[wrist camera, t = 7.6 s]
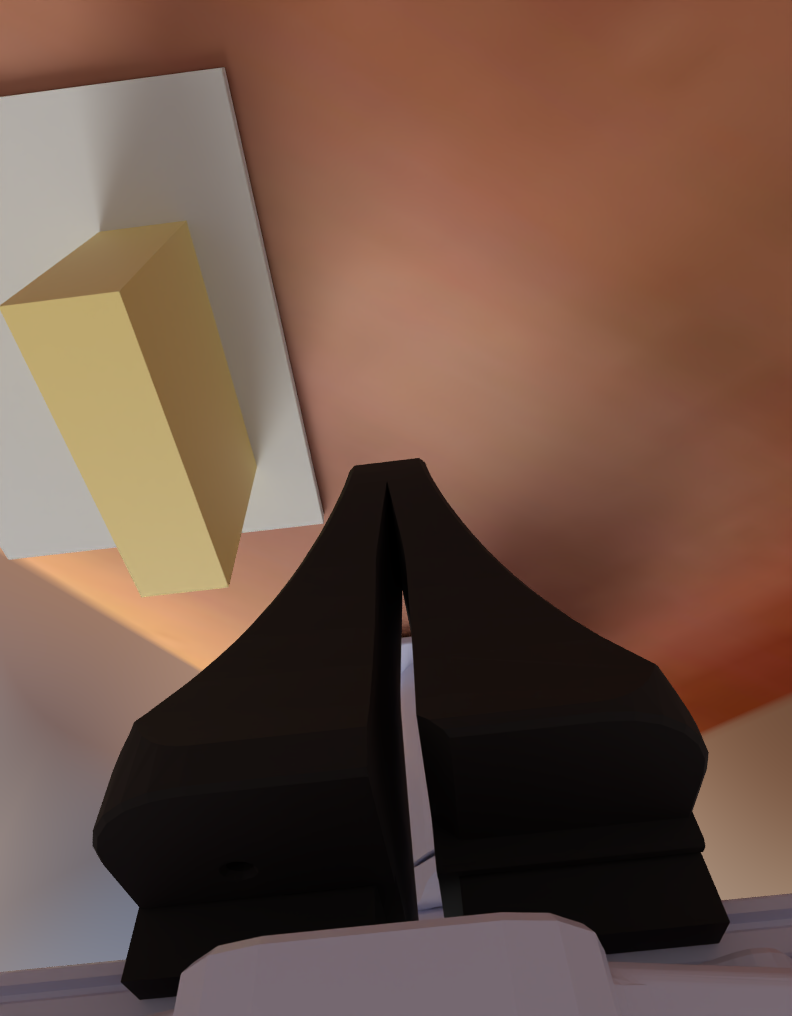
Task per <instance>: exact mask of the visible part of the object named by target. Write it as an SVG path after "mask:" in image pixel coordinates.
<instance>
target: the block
mask: <svg viewBox="0 0 792 1016" xmlns="http://www.w3.org/2000/svg"><path fill="white" fill-rule="evenodd" d="M0 311H1V313H2V315H3V317H4V319H5V321H6V323H7V325H8V327H9V329H10V331H11V333H12V335H13V337H14V339H15V341H16V343H17V345H18V347H19V349H20V351H21V354H22V356H23V358H24V360H25V362H26V364H27V366H28V368H29V370H30V372H31V374H32V376H33V378H34V380H35V382H36V384H37V386H38V388H39V390H40V392H41V394H42V396H43V398H44V400H45V402H46V404H47V406H48V408H49V410H50V412H51V415H52V417H53V419H54V421H55V423H56V425H57V427H58V429H59V431H60V433H61V435H62V437H63V439H64V441H65V443H66V445H67V447H68V449H69V451H70V453H71V455H72V457H73V459H74V461H75V463H76V465H77V467H78V469H79V471H80V473H81V475H82V478H83V480H84V482H85V484H86V486H87V488H88V490H89V492H90V494H91V496H92V498H93V500H94V502H95V504H96V506H97V508H98V510H99V512H100V514H101V516H102V518H103V520H104V522H105V524H106V526H107V528H108V530H109V532H110V534H111V536H112V539H113V541H114V543H115V545H116V547H117V549H118V551H119V553H120V555H121V557H122V559H123V561H124V563H125V565H126V567H127V569H128V571H129V573H130V575H131V577H132V579H133V581H134V583H135V585H136V587H137V589H138V591H139V593H140V595H141V597H148V596H157V595H166V594H174V593H183V592H192V591H201V590H210V589H218V588H227V587H229V584H230V579H231V575H232V571H233V567H234V562H235V558H236V554H237V550H238V545H239V541H240V537H241V533H242V528H243V524H244V520H245V516H246V512H247V507H248V503H249V499H250V495H251V490H252V486H253V482H254V478H255V473H256V469H257V465H256V461H255V458H254V454H253V451H252V447H251V444H250V441H249V437H248V434H247V430H246V427H245V423H244V420H243V416H242V413H241V409H240V406H239V402H238V399H237V395H236V392H235V388H234V385H233V381H232V378H231V374H230V371H229V367H228V364H227V360H226V357H225V353H224V350H223V346H222V343H221V339H220V336H219V332H218V329H217V325H216V322H215V319H214V315H213V312H212V308H211V305H210V301H209V298H208V294H207V291H206V287H205V284H204V280H203V277H202V273H201V270H200V266H199V263H198V259H197V256H196V252H195V249H194V245H193V242H192V238H191V235H190V231H189V228H188V224H187V221H179V222H171V223H163V224H155V225H148V226H140V227H132V228H124V229H117V230H109V231H101V232H98V233H97V234H96V235H94V236H93V237H92V238H90V239H89V240H88V241H86V242H85V243H84V244H82V245H81V246H79V247H78V248H77V249H75V250H74V251H73V252H71V253H70V254H69V255H67V256H66V257H65V258H63V259H62V260H61V261H59V262H58V263H56V264H55V265H54V266H52V267H51V268H50V269H48V270H47V271H46V272H44V273H43V274H42V275H40V276H39V277H38V278H36V279H35V280H34V281H32V282H31V283H29V284H28V285H27V286H25V287H24V288H23V289H21V290H20V291H19V292H17V293H16V294H15V295H13V296H12V297H11V298H9V299H8V300H7V301H5V302H4V303H2V304H1V305H0Z"/></svg>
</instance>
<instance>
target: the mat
mask: <svg viewBox="0 0 792 1016" xmlns="http://www.w3.org/2000/svg"><path fill="white" fill-rule="evenodd" d="M179 221H187V224H188V228H189V231H190V235H191V238H192V242H193V245H194V249H195V252H196V256H197V259H198V263H199V266H200V270H201V273H202V277H203V280H204V284H205V287H206V291H207V294H208V298H209V301H210V305H211V308H212V312H213V315H214V319H215V322H216V325H217V329H218V332H219V336H220V339H221V343H222V346H223V350H224V353H225V357H226V360H227V364H228V367H229V371H230V374H231V378H232V381H233V385H234V388H235V392H236V395H237V399H238V402H239V406H240V409H241V413H242V416H243V420H244V423H245V427H246V430H247V434H248V437H249V441H250V444H251V447H252V451H253V454H254V458H255V461H256V465H257V469H256V473H255V478H254V482H253V486H252V490H251V495H250V499H249V503H248V507H247V512H246V516H245V520H244V524H243V528H242V533H245V532H254V531H262V530H271V529H280V528H289V527H297V526H306V525H315V524H323V522H324V513H323V509H322V504H321V500H320V495H319V491H318V486H317V482H316V477H315V473H314V468H313V464H312V459H311V455H310V450H309V446H308V441H307V437H306V432H305V427H304V423H303V418H302V414H301V409H300V405H299V400H298V396H297V391H296V387H295V382H294V378H293V373H292V369H291V364H290V360H289V355H288V351H287V346H286V342H285V337H284V333H283V328H282V324H281V319H280V315H279V310H278V306H277V301H276V297H275V292H274V288H273V283H272V278H271V274H270V269H269V265H268V260H267V256H266V251H265V247H264V242H263V238H262V233H261V229H260V224H259V220H258V215H257V211H256V206H255V202H254V197H253V193H252V188H251V184H250V179H249V175H248V170H247V166H246V161H245V157H244V152H243V148H242V143H241V139H240V134H239V130H238V125H237V120H236V116H235V111H234V107H233V102H232V98H231V93H230V89H229V84H228V80H227V75H226V71H225V67H222V68H214V69H207V70H199V71H192V72H184V73H177V74H169V75H162V76H154V77H147V78H139V79H132V80H124V81H117V82H109V83H101V84H94V85H86V86H79V87H71V88H64V89H56V90H49V91H41V92H34V93H26V94H19V95H11V96H4V97H0V305H1V304H2V303H4V302H5V301H7V300H8V299H9V298H11V297H12V296H13V295H15V294H16V293H17V292H19V291H20V290H21V289H23V288H24V287H25V286H27V285H28V284H29V283H31V282H32V281H34V280H35V279H36V278H38V277H39V276H40V275H42V274H43V273H44V272H46V271H47V270H48V269H50V268H51V267H52V266H54V265H55V264H56V263H58V262H59V261H61V260H62V259H63V258H65V257H66V256H67V255H69V254H70V253H71V252H73V251H74V250H75V249H77V248H78V247H79V246H81V245H82V244H84V243H85V242H86V241H88V240H89V239H90V238H92V237H93V236H94V235H96V234H97V233H98V232H101V231H109V230H117V229H124V228H132V227H140V226H148V225H155V224H163V223H171V222H179ZM0 547H1V549H2V550H3V552H4V553H5V555H6V557H7V558H8V559H9V560H10V559H19V558H27V557H36V556H45V555H53V554H62V553H71V552H80V551H88V550H97V549H106V548H114V547H116V545H115V543H114V541H113V539H112V536H111V534H110V532H109V530H108V528H107V526H106V524H105V522H104V520H103V518H102V516H101V514H100V512H99V510H98V508H97V506H96V504H95V502H94V500H93V498H92V496H91V494H90V492H89V490H88V488H87V486H86V484H85V482H84V480H83V478H82V475H81V473H80V471H79V469H78V467H77V465H76V463H75V461H74V459H73V457H72V455H71V453H70V451H69V449H68V447H67V445H66V443H65V441H64V439H63V437H62V435H61V433H60V431H59V429H58V427H57V425H56V423H55V421H54V419H53V417H52V415H51V412H50V410H49V408H48V406H47V404H46V402H45V400H44V398H43V396H42V394H41V392H40V390H39V388H38V386H37V384H36V382H35V380H34V378H33V376H32V374H31V372H30V370H29V368H28V366H27V364H26V362H25V360H24V358H23V356H22V354H21V351H20V349H19V347H18V345H17V343H16V341H15V339H14V337H13V335H12V333H11V331H10V329H9V327H8V325H7V323H6V321H5V319H4V317H3V315H2V313H1V311H0Z"/></svg>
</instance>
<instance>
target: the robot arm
mask: <svg viewBox="0 0 792 1016" xmlns="http://www.w3.org/2000/svg"><path fill="white" fill-rule="evenodd" d="M402 590H403V595H404V600H405V605H406V610H407V615H408V620H409V625H410V630H411V637H404V638H402ZM707 762H708V750H707V748H706V745H705V743H704V741H703V738H702V736H701V734H700V731H699V729H698V727H697V725H696V723H695V721H694V720H693V718H692V716H691V714H690V712H689V711H688V709H687V708H686V706H685V705H684V703H683V702H682V700H681V699H680V697H679V696H678V694H677V693H676V691H675V690H674V688H673V687H672V685H671V684H670V683H669V681H668V680H667V678H666V677H665V676H664V674H663V673H662V671H661V670H660V669H659V667H658V666H657V665H656V664H654V663H652V662H650V661H648V660H646V659H644V658H642V657H640V656H638V655H636V654H634V653H632V652H630V651H628V650H626V649H624V648H623V647H621V646H619V645H617V644H615V643H613V642H611V641H609V640H607V639H605V638H603V637H601V636H599V635H598V634H596V633H594V632H593V631H591V630H589V629H588V628H586V627H584V626H583V625H581V624H579V623H578V622H576V621H574V620H573V619H571V618H570V617H568V616H567V615H566V614H564V613H563V612H561V611H560V610H559V609H557V608H556V607H554V606H553V605H552V604H550V603H549V602H547V601H546V600H545V599H543V598H542V597H540V596H539V595H537V594H536V593H535V592H534V591H532V590H531V589H530V588H529V587H528V586H526V585H525V584H524V583H523V582H521V581H520V580H519V579H518V578H517V577H515V576H514V575H513V574H512V573H511V572H510V571H509V570H508V569H507V568H506V567H504V566H503V565H502V564H501V563H500V562H499V561H498V560H497V559H496V558H495V557H494V556H493V555H492V554H491V553H490V552H489V551H488V550H487V549H486V548H485V547H484V546H483V545H482V544H481V543H480V541H479V540H478V539H477V538H476V537H475V536H474V535H473V534H472V533H471V531H470V530H469V529H468V528H467V527H466V525H465V524H464V523H463V522H462V521H461V519H460V518H459V517H458V515H457V514H456V513H455V511H454V510H453V509H452V508H451V506H450V505H449V504H448V502H447V501H446V499H445V498H444V496H443V495H442V493H441V492H440V490H439V489H438V487H437V486H436V484H435V482H434V481H433V479H432V477H431V475H430V473H429V471H428V469H427V467H426V464H425V462H423V461H422V460H421V459H420V458H415V459H407V460H399V461H390V462H382V463H373V464H365V465H356V466H354V467H353V468H352V469H351V470H350V472H349V475H348V478H347V480H346V483H345V485H344V488H343V490H342V492H341V495H340V497H339V499H338V501H337V503H336V505H335V507H334V509H333V511H332V513H331V515H330V517H329V518H328V520H327V522H326V524H325V526H324V528H323V530H322V531H321V533H320V535H319V537H318V538H317V540H316V541H315V543H314V544H313V546H312V548H311V549H310V551H309V552H308V554H307V555H306V557H305V559H304V560H303V562H302V563H301V565H300V566H299V568H298V569H297V570H296V572H295V573H294V575H293V576H292V577H291V579H290V580H289V581H288V583H287V584H286V585H285V587H284V588H283V589H282V590H281V592H280V593H279V594H278V595H277V597H276V598H275V599H274V600H273V601H272V603H271V604H270V605H269V606H268V607H267V608H266V609H265V611H264V612H263V613H262V614H261V615H260V616H259V617H258V618H257V619H256V621H255V622H254V623H253V624H252V625H251V626H250V627H249V628H248V629H247V630H246V631H245V632H244V633H243V634H242V635H241V636H240V637H239V638H238V639H237V640H236V641H235V642H234V643H233V644H232V645H231V646H230V647H229V648H228V649H227V650H226V651H224V652H223V653H222V654H221V655H220V656H219V657H218V658H217V659H216V660H214V661H213V662H212V663H211V664H210V665H209V666H207V667H206V668H205V669H204V670H203V671H202V672H200V673H199V674H198V675H197V676H196V677H194V678H193V679H192V680H191V681H189V682H188V683H187V684H185V685H184V686H183V687H182V688H180V689H179V690H177V691H176V692H175V693H174V694H172V695H171V696H169V697H168V698H167V699H165V700H164V701H163V702H161V703H160V704H159V705H157V706H156V707H155V708H153V709H152V710H151V711H149V712H148V713H147V714H145V715H144V716H142V717H141V718H139V719H138V720H136V721H135V722H134V724H133V727H132V729H131V731H130V734H129V736H128V738H127V740H126V742H125V744H124V746H123V748H122V750H121V752H120V755H119V757H118V760H117V762H116V765H115V767H114V770H113V772H112V775H111V778H110V781H109V784H108V787H107V790H106V793H105V796H104V799H103V802H102V805H101V808H100V811H99V814H98V817H97V820H96V823H95V826H94V829H93V847H94V849H95V851H96V853H97V855H98V856H99V858H100V860H101V862H102V863H103V865H104V866H105V867H106V868H107V870H108V871H109V872H110V873H111V874H112V875H113V877H114V878H115V879H116V880H117V881H118V882H119V884H120V885H121V886H122V887H123V888H124V890H125V891H126V892H127V893H128V894H129V895H130V897H131V898H132V899H133V900H134V901H135V903H136V904H137V905H138V906H139V910H138V914H137V918H136V922H135V926H134V930H133V934H132V938H131V942H130V946H129V950H128V954H127V958H126V960H118V961H108V962H98V963H87V964H77V965H67V966H58V967H47V968H37V969H27V970H17V971H8V972H0V1016H792V894H782V895H771V896H761V897H752V898H741V899H732V900H721V899H720V897H719V895H718V892H717V889H716V887H715V885H714V882H713V880H712V878H711V875H710V873H709V871H708V868H707V866H706V864H705V861H704V859H703V856H702V854H701V852H703V851H704V849H705V842H704V838H703V835H702V833H701V831H700V828H699V826H698V824H697V821H696V819H695V817H694V815H693V812H692V810H693V807H694V805H695V801H696V799H697V796H698V793H699V790H700V787H701V784H702V781H703V778H704V775H705V773H706V769H707Z"/></svg>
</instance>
